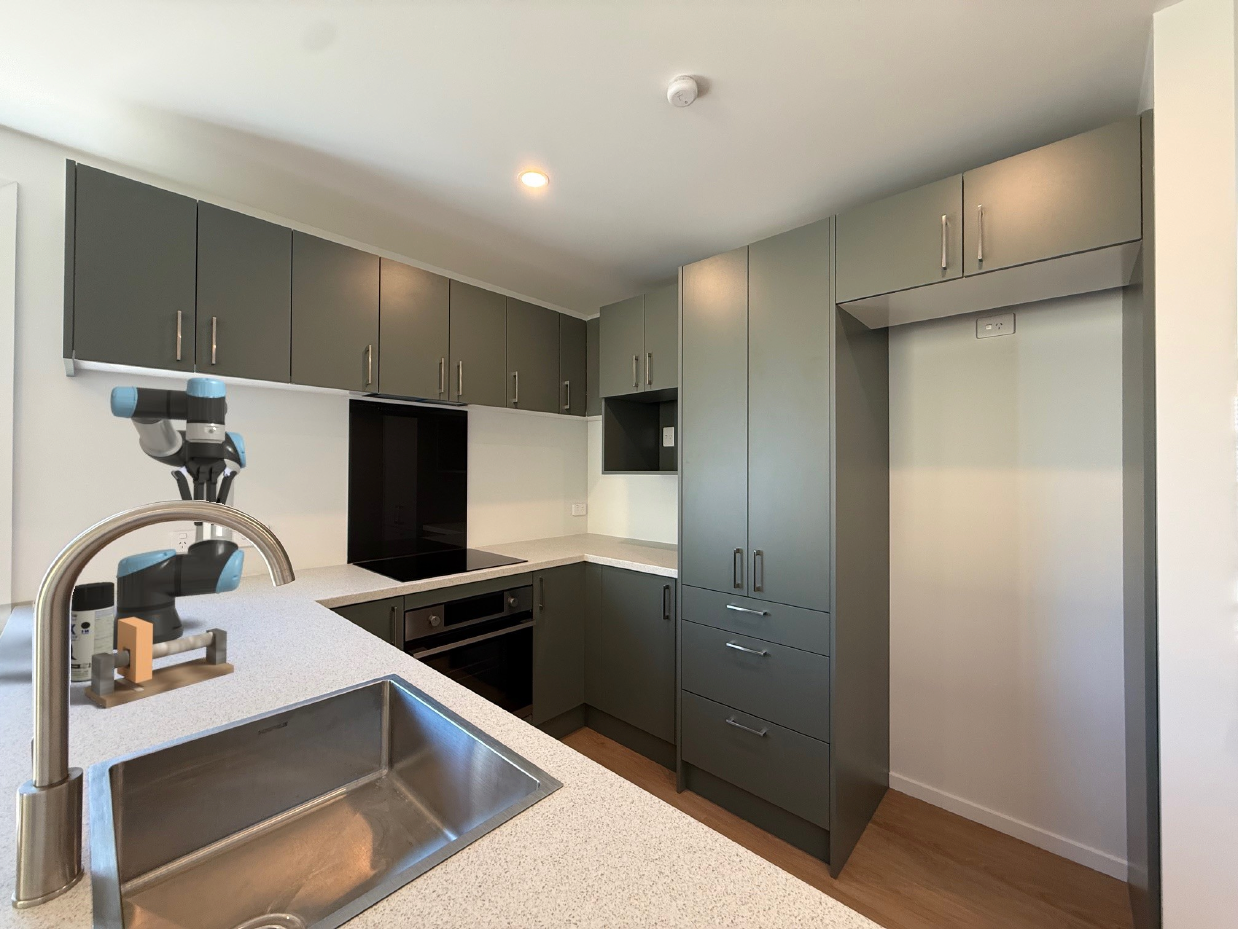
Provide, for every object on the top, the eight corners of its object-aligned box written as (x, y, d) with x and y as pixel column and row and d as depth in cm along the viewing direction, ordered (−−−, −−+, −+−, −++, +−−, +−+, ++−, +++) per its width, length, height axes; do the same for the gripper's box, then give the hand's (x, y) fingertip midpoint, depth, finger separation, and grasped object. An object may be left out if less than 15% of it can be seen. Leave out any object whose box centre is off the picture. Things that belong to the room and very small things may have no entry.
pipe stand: (209, 662, 123) (209, 625, 123) (233, 672, 117) (234, 633, 117) (84, 694, 105) (85, 651, 105) (106, 708, 98) (107, 662, 99)
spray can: (69, 676, 114) (70, 584, 114) (112, 668, 119) (113, 580, 119) (69, 685, 109) (71, 589, 110) (114, 676, 114) (116, 584, 115)
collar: (132, 669, 110) (133, 617, 110) (151, 678, 105) (152, 623, 105) (117, 673, 108) (117, 619, 108) (135, 683, 103) (136, 627, 103)
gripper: (179, 440, 120) (177, 543, 120) (243, 443, 131) (242, 537, 131) (165, 441, 124) (164, 541, 123) (229, 443, 135) (227, 535, 135)
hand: (204, 538), depth 127 cm, fingers closed
